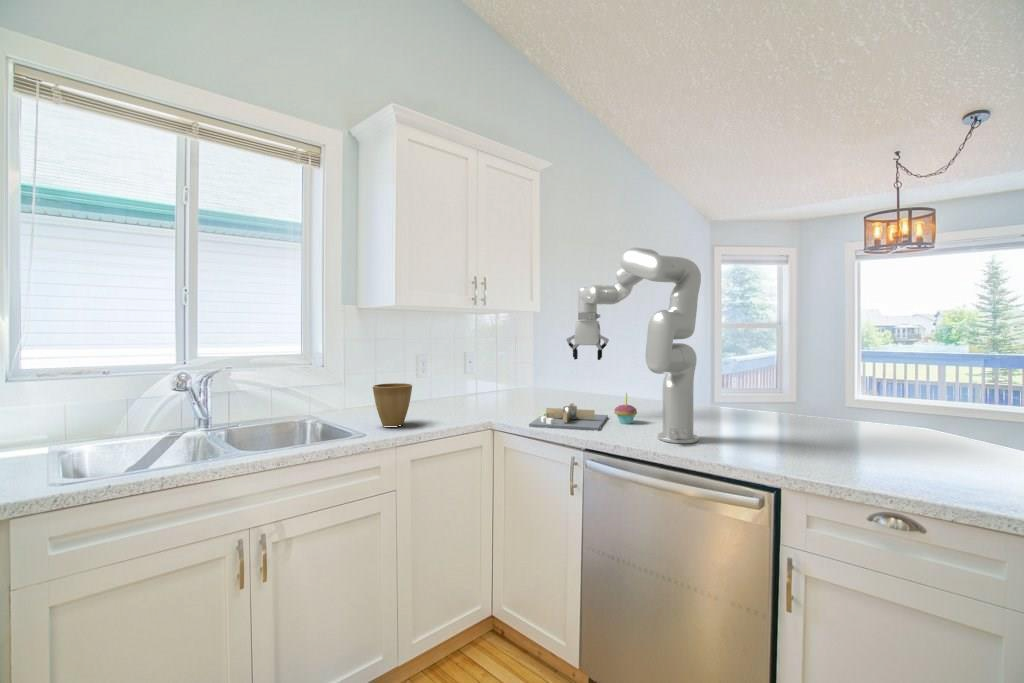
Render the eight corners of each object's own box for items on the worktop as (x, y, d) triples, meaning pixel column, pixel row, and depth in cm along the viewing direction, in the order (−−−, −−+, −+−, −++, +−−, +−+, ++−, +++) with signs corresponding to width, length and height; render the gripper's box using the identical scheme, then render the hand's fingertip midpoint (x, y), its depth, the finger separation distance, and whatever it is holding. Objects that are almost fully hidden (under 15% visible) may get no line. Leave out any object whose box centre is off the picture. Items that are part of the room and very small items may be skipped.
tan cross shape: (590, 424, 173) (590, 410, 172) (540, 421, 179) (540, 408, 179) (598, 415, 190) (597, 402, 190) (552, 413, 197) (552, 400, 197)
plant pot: (407, 429, 173) (407, 387, 173) (368, 430, 174) (367, 387, 173) (416, 421, 188) (416, 382, 188) (380, 422, 189) (379, 382, 188)
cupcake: (639, 425, 177) (639, 393, 177) (616, 425, 177) (616, 393, 177) (633, 420, 186) (633, 390, 185) (612, 420, 186) (612, 390, 186)
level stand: (598, 430, 168) (598, 422, 168) (529, 426, 177) (529, 419, 177) (607, 417, 193) (607, 410, 193) (546, 414, 201) (546, 407, 201)
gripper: (610, 317, 190) (610, 359, 191) (569, 317, 196) (569, 358, 197) (607, 317, 183) (607, 360, 184) (564, 317, 190) (564, 359, 190)
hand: (587, 359), depth 190 cm, fingers open, 9 cm apart
